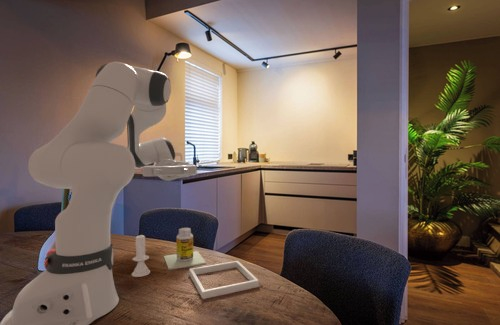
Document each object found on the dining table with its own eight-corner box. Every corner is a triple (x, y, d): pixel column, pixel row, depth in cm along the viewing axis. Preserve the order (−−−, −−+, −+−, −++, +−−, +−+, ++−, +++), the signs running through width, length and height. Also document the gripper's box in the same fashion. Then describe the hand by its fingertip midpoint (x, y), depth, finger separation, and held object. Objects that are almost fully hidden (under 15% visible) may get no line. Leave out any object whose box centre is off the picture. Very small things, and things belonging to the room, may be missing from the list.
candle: (154, 271, 86) (153, 233, 86) (140, 278, 81) (140, 237, 81) (141, 268, 88) (140, 231, 88) (127, 275, 83) (126, 235, 83)
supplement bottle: (179, 263, 91) (179, 232, 91) (174, 258, 96) (174, 228, 96) (195, 259, 94) (195, 229, 94) (189, 254, 99) (189, 226, 99)
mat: (168, 270, 87) (168, 268, 87) (163, 257, 98) (163, 255, 98) (206, 263, 92) (206, 262, 92) (197, 252, 103) (197, 250, 103)
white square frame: (202, 299, 69) (202, 292, 69) (189, 274, 84) (189, 268, 84) (258, 286, 76) (258, 280, 76) (237, 266, 90) (237, 260, 90)
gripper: (140, 162, 110) (142, 163, 97) (192, 161, 118) (200, 162, 106) (140, 178, 110) (142, 181, 98) (192, 176, 119) (200, 179, 106)
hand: (173, 171), depth 102 cm, fingers open, 8 cm apart
